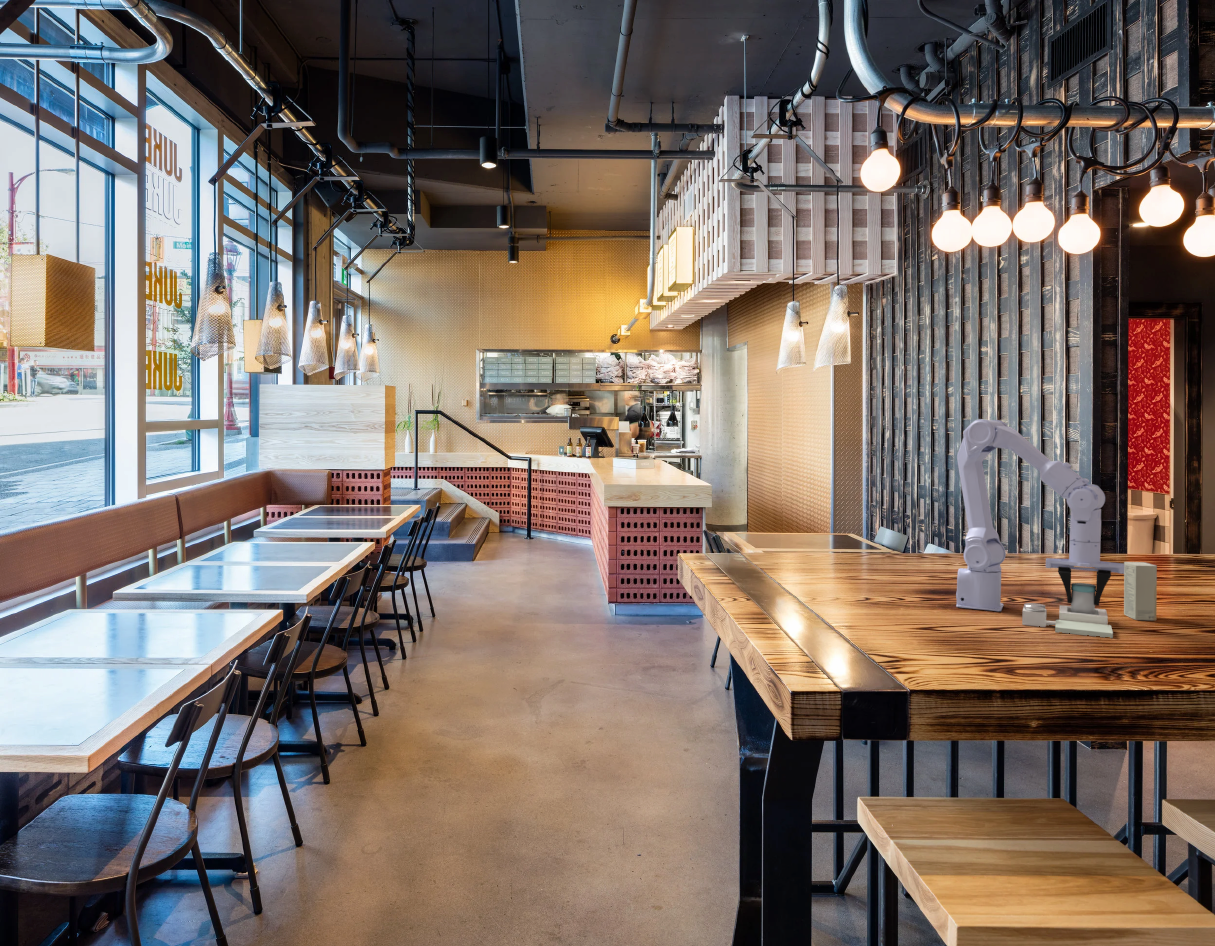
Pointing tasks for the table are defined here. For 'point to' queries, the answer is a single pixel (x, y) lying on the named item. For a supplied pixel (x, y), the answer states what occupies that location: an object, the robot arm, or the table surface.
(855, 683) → the table surface
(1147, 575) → the skincare box
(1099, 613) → the holder
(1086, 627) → the pad
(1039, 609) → the plunger
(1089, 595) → the cartridge
